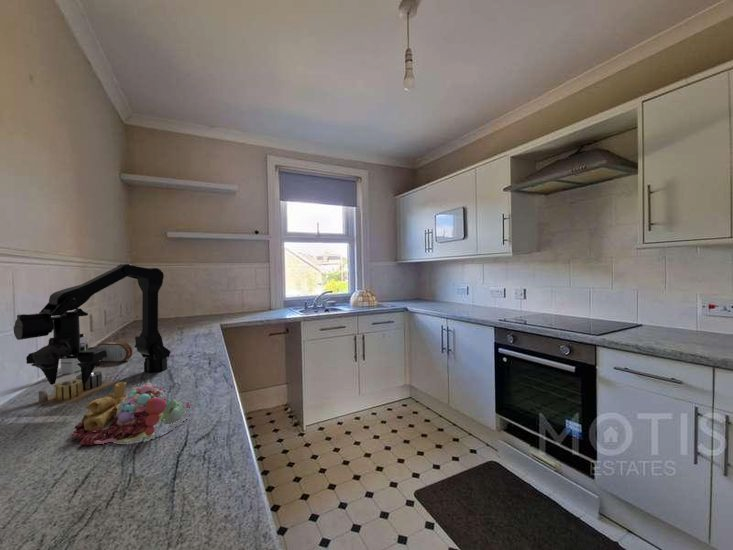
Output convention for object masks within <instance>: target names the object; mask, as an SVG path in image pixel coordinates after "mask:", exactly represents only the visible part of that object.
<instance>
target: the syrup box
mask: <svg viewBox="0 0 733 550" xmlns="http://www.w3.org/2000/svg"><path fill="white" fill-rule="evenodd" d="M82 334H83V336H84V337H81V338H80V347H84V350H82V351H80V352H83V351H86V350H88V348H89V342H88V341H89V339H88V336H89V335H88V334H84V333H82ZM70 356H73V355H70ZM78 363H81V362H80V361H78V359H60V373H61V376H62V375H66V374H71V375H72V374H73V375H74V374H77V373H81V367H80V366H79V365H77V364H78Z"/></svg>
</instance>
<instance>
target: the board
mask: <svg viewBox="0 0 733 550" xmlns="http://www.w3.org/2000/svg"><path fill="white" fill-rule="evenodd" d="M70 380H71V381H69V380H66V382H64V381H63V382H64V384H65V385H69V384H73V381H72V380H73V379H70ZM116 383H118V381H102V385H101V386H100V387H97V388H94V389H90V390H83V395H81V396H79V397H76V398H73V399H69V400H62V401H58V400H57V401H56V400H55V398H54V394H52V395H50V396H48V390H47V389H44V390H40V391H38V400H37V401H35V402H33V404H34V405H36V404H60V403H61V404H63V403H64V404H65V403H66V404H67V403H79V402H80V401H82V400H84V399H87V398H88V397H90V396H92V395H95V394H96V393H99V392H100V391H103V390H104V389H107V388H109V387H111V386H113V385H115V384H116Z"/></svg>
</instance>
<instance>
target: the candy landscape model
mask: <svg viewBox="0 0 733 550" xmlns="http://www.w3.org/2000/svg"><path fill="white" fill-rule="evenodd" d="M158 385H159V384H158V383H156V384H152V383H150V382H145V384H141V383H140V385H139V386H136V387H134V388H132V389H131V391H130V392H129V393H128V394H126V388H127V382H126V381H120V382H119V381H118V382H117V383H115V384H114V386H113V391H114V393H108V394H106V395H107V396H105V397H99V398H97V399H94V400H92V401H91V402H89V403H88V404H87V406H86V407H85V409H87V410H89V412H88V413H86V414H84V416H83V417H82V419H81V421H80V422H78V424H76V425H75V427H74V430H73V431H71V437H72V439H71V441H70V443H73V442H76V441H78V440H80V442H79V443H78V445H84V446H92V445H94V444H103V445H105V444H104V443H107V442H112V441H113V442H116V444H117V443H127V442H132V441H138V440H140V439H142V438H143V437H145V439H149V438H150V437H151V436H154V435H155V432H157V431H155V426H156V424H157V423H158V422H161V420H163V419H165V420H164V421H163V422H162V423H164V424H171V423H172V424H173V423H174V422H176V421H178V420H179V419H180V418H181V417H183V415H184V414H185V413H186V411H187V410H185V409H184V407H185V406H184V405H186V407H185V408H189V406H190V401H187V403H186V404H184V403H183V401H182V400H181V401H180V400H178V399H177V398H176V399H175V398H172V399H170V396H169V395H168V394H166V395H165V393H164V391H163V388H162V387H161V386H160V387H159V388H158ZM154 431H155V432H154ZM107 444H108V443H107ZM116 444H115V445H116Z"/></svg>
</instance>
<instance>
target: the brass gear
mask: <svg viewBox="0 0 733 550" xmlns="http://www.w3.org/2000/svg"><path fill="white" fill-rule="evenodd" d="M71 380H72V381H73V384H69V385H65V384H64V382H66V381H67V380H66V381H65V380H64V381H61V382H59V383H55V384H54V385H53V389H54V390H53V395H54V398H55V400H56V401H57V400H58V401H62V400H69V399H73V398H76V397H79V396H81V395H83V383H82V380H80V379H69V380H68V381H71Z"/></svg>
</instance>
